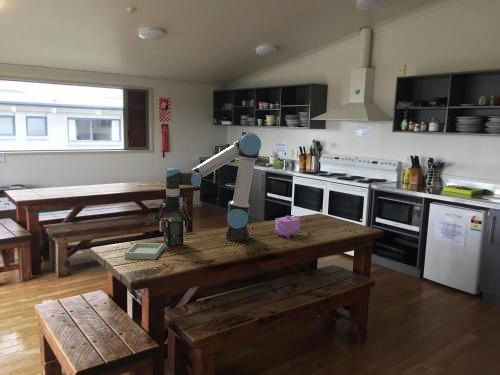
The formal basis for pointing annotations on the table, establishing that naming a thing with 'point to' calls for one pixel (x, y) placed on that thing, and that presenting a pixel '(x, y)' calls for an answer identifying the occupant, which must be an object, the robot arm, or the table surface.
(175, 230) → the tampon box
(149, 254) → the tray
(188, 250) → the table surface
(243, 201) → the robot arm
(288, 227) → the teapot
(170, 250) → the table surface
